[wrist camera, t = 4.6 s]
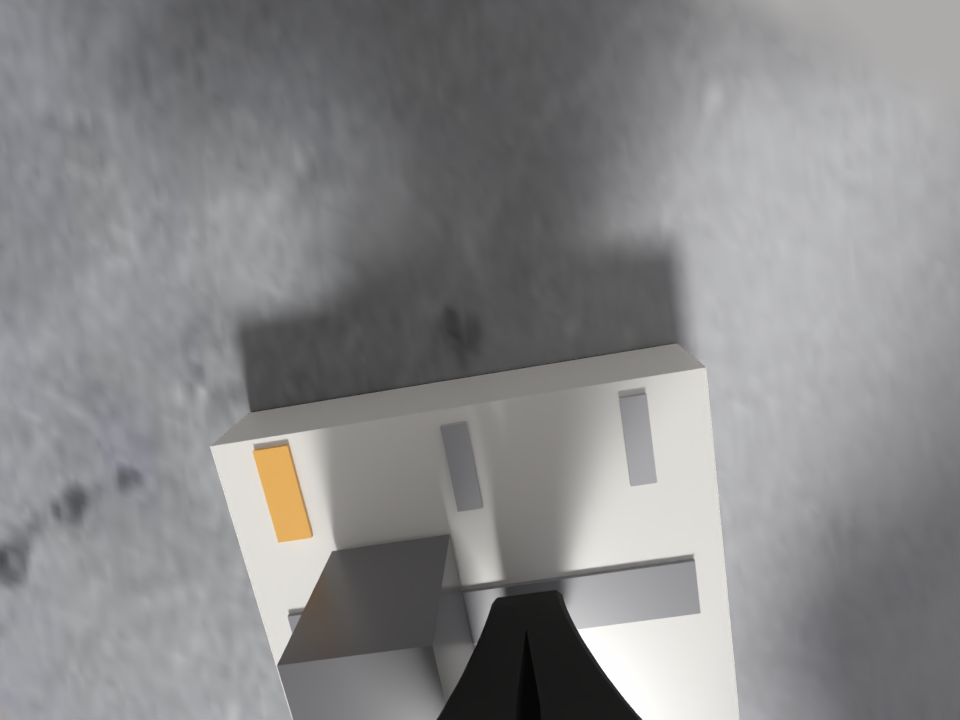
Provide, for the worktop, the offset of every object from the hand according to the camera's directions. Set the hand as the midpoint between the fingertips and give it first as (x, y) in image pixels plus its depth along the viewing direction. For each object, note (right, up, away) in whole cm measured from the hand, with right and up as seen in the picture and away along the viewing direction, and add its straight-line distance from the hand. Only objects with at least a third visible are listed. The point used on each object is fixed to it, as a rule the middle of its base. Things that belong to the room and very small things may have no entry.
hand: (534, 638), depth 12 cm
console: (-1, +1, +3) cm, 3 cm away
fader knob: (-2, 0, +1) cm, 3 cm away
